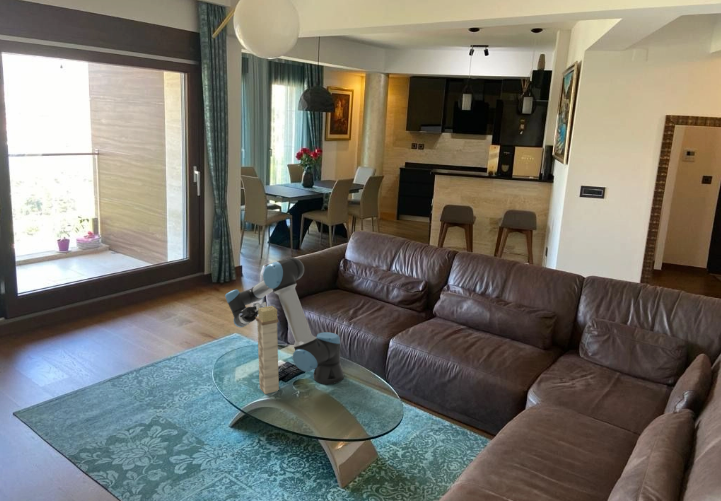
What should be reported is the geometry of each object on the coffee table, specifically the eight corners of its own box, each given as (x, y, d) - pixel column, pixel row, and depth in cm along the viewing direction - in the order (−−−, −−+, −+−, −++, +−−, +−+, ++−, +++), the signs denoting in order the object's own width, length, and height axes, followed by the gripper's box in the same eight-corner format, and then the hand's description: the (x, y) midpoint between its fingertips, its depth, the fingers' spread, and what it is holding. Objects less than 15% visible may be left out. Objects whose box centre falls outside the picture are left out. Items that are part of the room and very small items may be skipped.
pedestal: (258, 387, 264) (255, 316, 255) (273, 383, 268) (271, 313, 259) (264, 394, 258) (261, 322, 249) (280, 390, 262) (278, 319, 253)
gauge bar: (249, 310, 264) (248, 300, 263) (262, 307, 267) (262, 297, 266) (263, 322, 249) (262, 311, 248) (277, 319, 252) (277, 309, 251)
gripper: (264, 319, 280) (279, 310, 260) (234, 325, 272) (248, 316, 252) (261, 305, 282) (276, 295, 262) (231, 310, 274) (244, 300, 254)
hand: (262, 305), depth 257 cm, fingers closed on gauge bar, 2 cm apart
